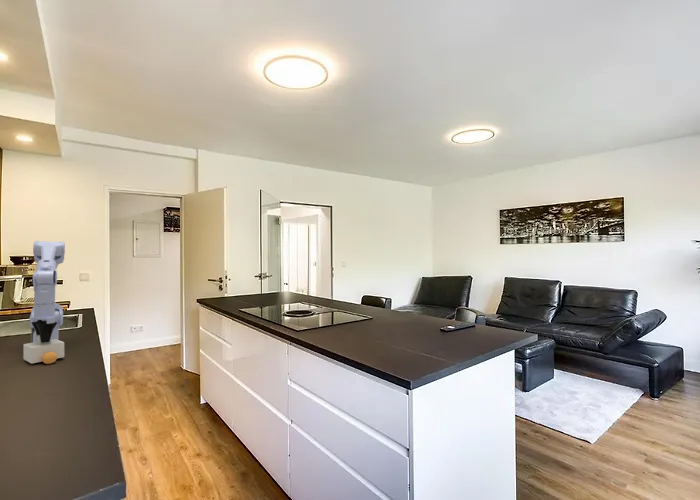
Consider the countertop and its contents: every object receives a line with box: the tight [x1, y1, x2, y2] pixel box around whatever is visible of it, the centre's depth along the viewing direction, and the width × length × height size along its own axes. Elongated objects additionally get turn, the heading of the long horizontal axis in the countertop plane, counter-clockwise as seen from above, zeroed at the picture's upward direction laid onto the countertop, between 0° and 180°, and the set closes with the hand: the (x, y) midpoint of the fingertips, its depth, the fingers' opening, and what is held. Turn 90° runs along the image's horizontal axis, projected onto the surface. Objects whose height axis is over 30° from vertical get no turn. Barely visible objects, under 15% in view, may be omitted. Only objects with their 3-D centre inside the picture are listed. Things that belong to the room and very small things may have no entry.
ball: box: [42, 352, 58, 365], centre depth 124 cm, size 4×4×4 cm
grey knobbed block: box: [22, 335, 65, 364], centre depth 128 cm, size 9×9×8 cm
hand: (43, 341), depth 128 cm, fingers closed on grey knobbed block, 3 cm apart
